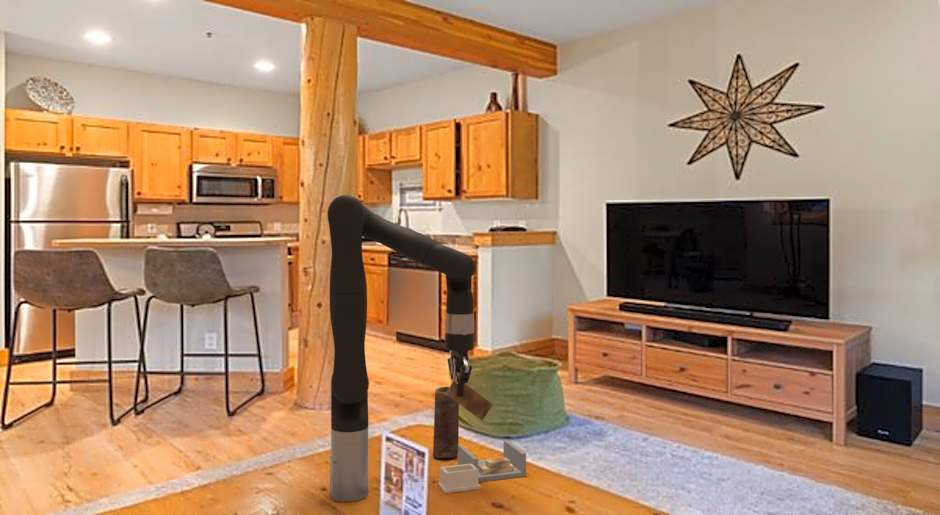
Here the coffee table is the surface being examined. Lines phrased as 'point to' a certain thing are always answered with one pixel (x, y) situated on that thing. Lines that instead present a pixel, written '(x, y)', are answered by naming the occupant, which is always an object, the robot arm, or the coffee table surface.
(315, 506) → the coffee table surface
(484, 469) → the block
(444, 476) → the holder
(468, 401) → the slat
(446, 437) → the brown log
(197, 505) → the coffee table surface
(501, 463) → the offcut short
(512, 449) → the rack
